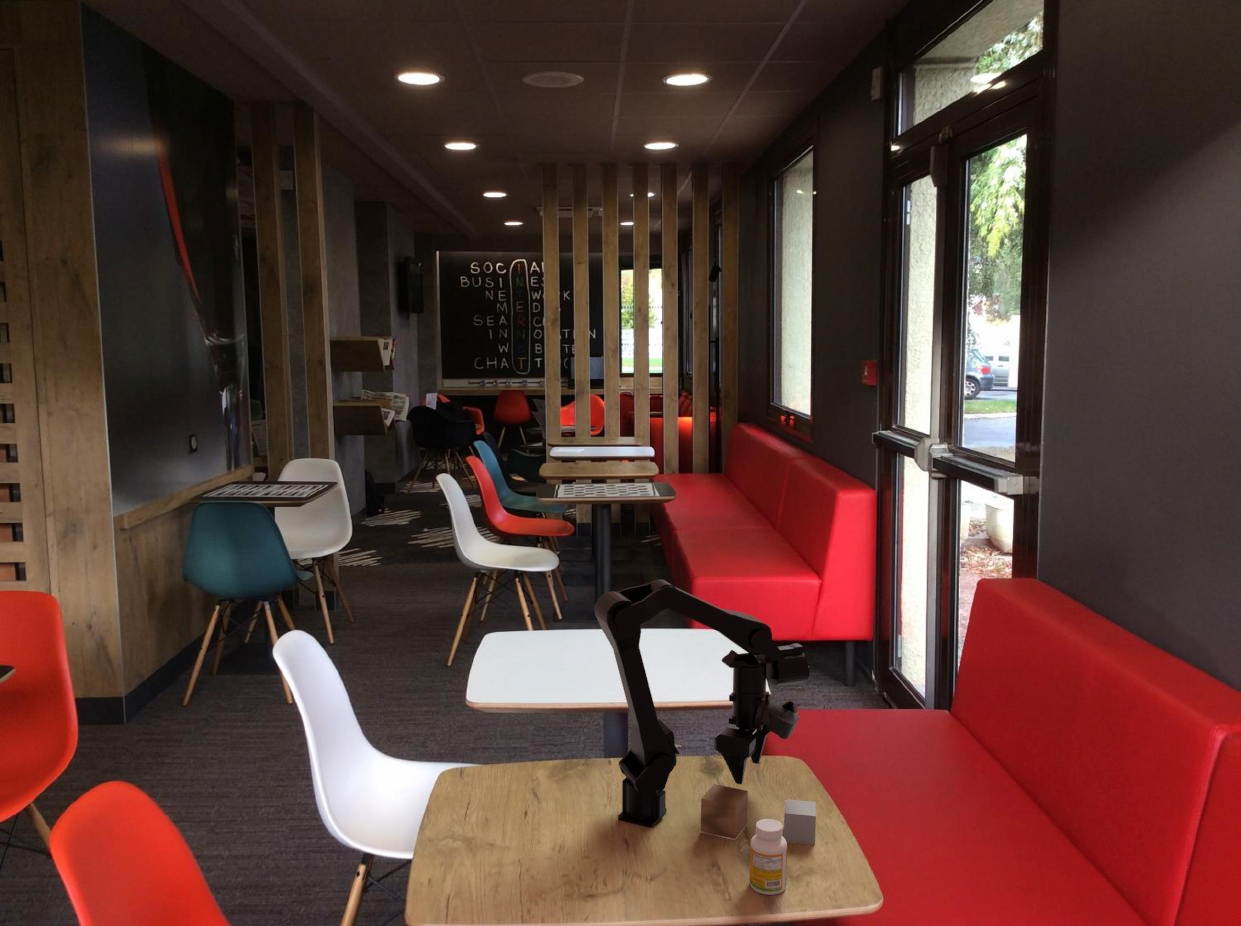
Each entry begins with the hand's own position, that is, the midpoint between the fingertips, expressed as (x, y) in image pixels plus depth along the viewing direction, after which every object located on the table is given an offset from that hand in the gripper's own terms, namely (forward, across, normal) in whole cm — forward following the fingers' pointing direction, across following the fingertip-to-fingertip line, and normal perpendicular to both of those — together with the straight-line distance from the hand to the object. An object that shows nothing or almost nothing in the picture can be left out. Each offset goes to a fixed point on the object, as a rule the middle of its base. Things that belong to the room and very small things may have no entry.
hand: (747, 773), depth 183 cm
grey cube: (+5, -9, -12) cm, 16 cm away
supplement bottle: (+5, -26, -12) cm, 29 cm away
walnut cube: (+5, -12, 0) cm, 13 cm away
